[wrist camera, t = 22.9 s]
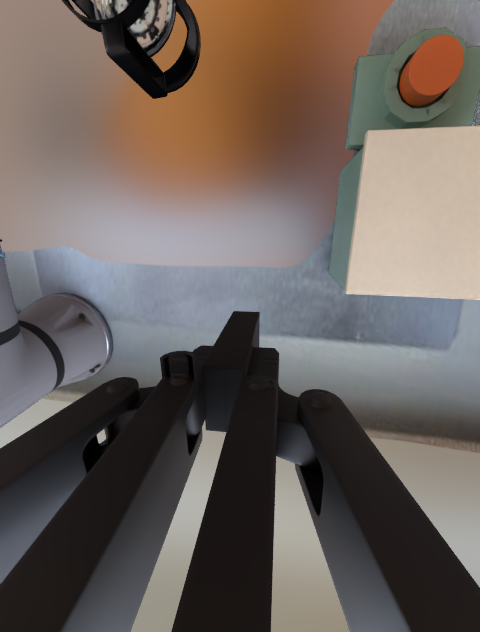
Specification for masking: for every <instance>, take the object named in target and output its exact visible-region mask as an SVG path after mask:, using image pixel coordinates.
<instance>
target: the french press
mask: <svg viewBox="0 0 480 632" xmlns="http://www.w3.org/2000/svg"><path fill="white" fill-rule="evenodd" d="M62 1H63V2H64V4H65V5H66V6H67V7H68V8H69V9H70V10H71V11H72V12H73V13H74V14H75V15H76V16H77V17H78V18H79V19H80V20H81V21H82V22H83V23H84V24H86V25H87V26H88V27H90V28H92V29H94V30H96V31H98V32H101V33H102V35H103V39H104V44H105V49H106V53H107V55H108V56H109V57H110V58H111V59H112V60H113V61H114V62H115V63H116V64H117V65H118V66H119V67H120V68H122V70H124V71H125V72H126V73H127V74H128V75H129V76H130V77H131V78H132V79H133V80H134V81H135V82H136V83H137V84H138V85H139V86H140V87H141V88H142V89H143V90H144V91H145V92H146V93H147V94H149V95H150V96H151V97H152V98H153V99H156V98H161V97H166V96H167V93H170V92H173V91H176V90H178V89H179V88H181V87H182V86H183V85H185V83H187V82H188V80H189V79H190V78H191V76H192V75H193V73H194V71H195V69H196V67H197V63H198V60H199V56H200V48H201V43H200V32H199V26H198V23H197V21H196V18H195V15H194V13H193V12H192V10H191V8H190V6H189V5H188V4H187V2H186V0H94V4H93V3H92V1H91V0H72V1H73V2H74V3H75V4H76V6H77V7H79V9H80V10H81V11H82V12H83V13H84V14H85V15H86V16H87V17H88V18H87V17H85V16H83V15H80V14H79V13H77V12H76V11H75V10H74V8H73V7H72V5H71V4H70V2H69V0H62ZM176 11H177V12H178V13H179V14H180V16H181V17H182V18H183V20H184V22H185V24H186V27H187V38H186V42H185V46H184V49H183V51H182V53H181V55H180V57H179V58H178V60H177V61H176V63H175V64H174V65H173V66H172V67H171V68H170V69H168V70H167V71H165V72H164V73H163V72H162V71H161V69H160V68H159V67H158V66H157V64H156V63H155V62H154V61H153V59H152V58H151V57H152V56H154V55H155V54H156V53H158V52H159V51H160V50H161V48H162V47H163V46H164V45H165V43H166V42H167V40H168V39H169V36H170V34H171V31H172V29H173V25H174V22H175V16H176Z"/></svg>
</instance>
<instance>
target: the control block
mask: <svg viewBox="0 0 480 632" xmlns="http://www.w3.org/2000/svg"><path fill="white" fill-rule="evenodd" d="M438 35H449V36H452V37H454V38H456V39H457V40H458V41H459V42H460V44H461V45H462V48H463V52H464V62H463V66H462V69H461V72H460V74H459V76H458V78H457V79H456V81H455V82H454V83H453V84H452V85H451V86H450V87H449V88H448V89H447V90H446V91H444V92H443V93H442V94H441V95H440V96H439V97H438V98H436V99H435V100H434V101H432V102H431V103H429V104H426V105H423V106H413V105H410V104H408V103H407V102H406V101H405V100H404V99H403V98H402V96H401V93H400V88H399V82H400V77H401V74H402V72H403V69H404V68H405V66H406V65H407V63H408V62H409V60H410V59H411V58H412V56H413V55H414V54H415V52H416V51H417V50H418V48H419V47H420V46H421V45H422V44H423V43H424V42H426V41H427V40H429V39H430V38H433V37H435V36H438ZM479 92H480V46H476V47H466V45H465V41H464V40H463V39H462V38H461V37H459V36H458V35H456V34H455V33H453V32H452V31H450V30H449V29H447V28H438V29H427V30H422V31H420V32H419V33H418V34H416V35H415V36H413V37H412V38H410V39H409V40H408V41H406V42H405V43H403V44H402V45H401V46H400V47H399V49H398V50H397V52H396V53H394V54H382V55H370V56H360V57H359V58H358V61H357V63H356V65H355V68H354V77H353V86H352V95H351V104H350V113H349V121H348V129H347V139H346V147H345V150H361V149H362V148H363V147H364V141H365V134H366V132H367V131H368V130H389V129H411V128H434V127H456V126H472V122H473V117H474V113H475V109H476V105H477V101H478V96H479Z"/></svg>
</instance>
